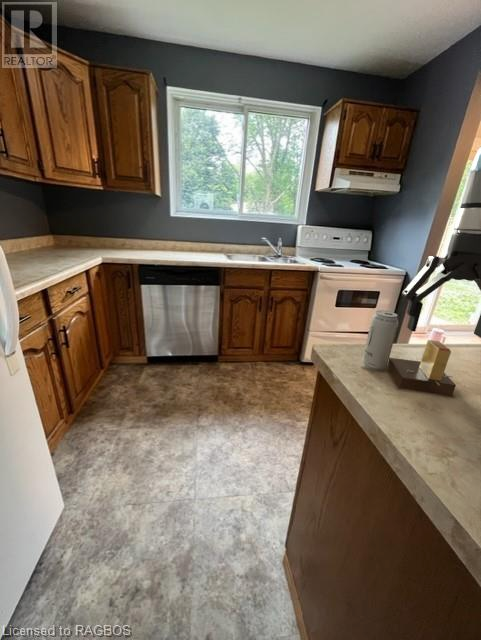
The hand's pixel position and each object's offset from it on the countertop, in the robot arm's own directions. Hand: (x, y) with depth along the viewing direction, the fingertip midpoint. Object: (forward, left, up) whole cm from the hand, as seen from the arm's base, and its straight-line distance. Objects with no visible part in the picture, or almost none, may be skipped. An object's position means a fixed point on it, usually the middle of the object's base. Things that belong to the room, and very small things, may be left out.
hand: (444, 332), depth 60 cm
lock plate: (+2, -1, -14) cm, 14 cm away
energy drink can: (+11, -6, -14) cm, 18 cm away
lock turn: (0, 0, -11) cm, 11 cm away
